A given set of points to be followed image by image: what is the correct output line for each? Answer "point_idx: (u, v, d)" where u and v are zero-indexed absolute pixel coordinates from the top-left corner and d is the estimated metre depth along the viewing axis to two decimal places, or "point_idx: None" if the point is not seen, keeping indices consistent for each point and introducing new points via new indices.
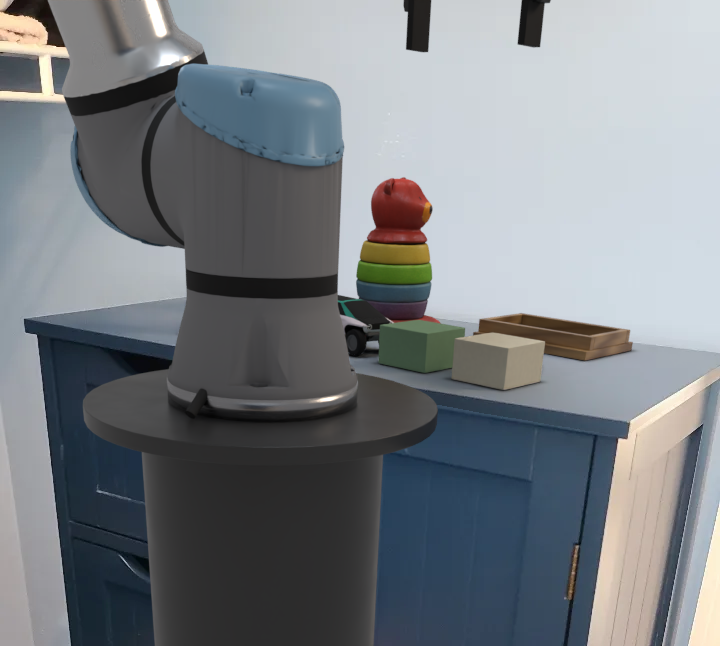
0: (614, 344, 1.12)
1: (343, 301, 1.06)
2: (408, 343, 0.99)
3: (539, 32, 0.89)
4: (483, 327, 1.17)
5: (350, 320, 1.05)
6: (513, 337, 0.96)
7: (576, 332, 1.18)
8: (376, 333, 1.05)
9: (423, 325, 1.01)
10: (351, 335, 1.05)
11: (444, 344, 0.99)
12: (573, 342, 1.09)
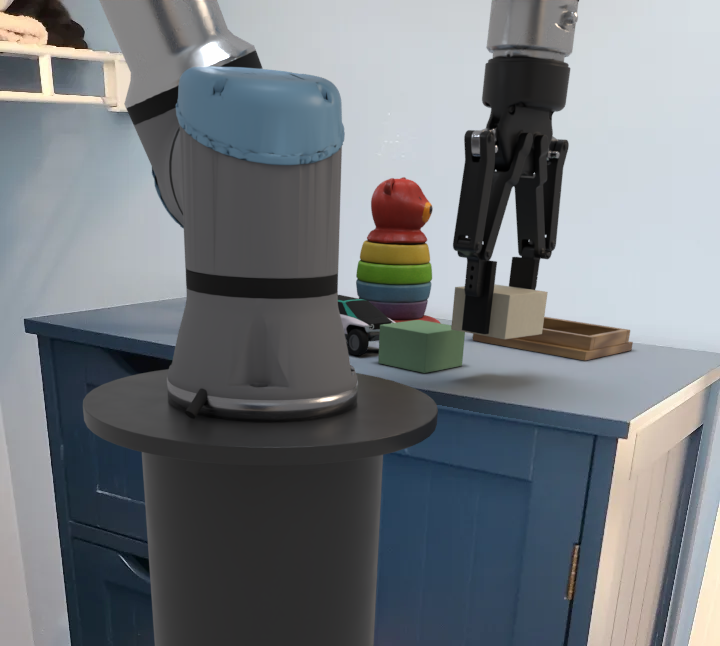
0: (614, 344, 1.12)
1: (345, 301, 1.06)
2: (408, 343, 0.99)
3: (482, 321, 0.90)
4: None
5: (352, 320, 1.05)
6: (515, 288, 0.94)
7: (576, 332, 1.18)
8: (378, 333, 1.05)
9: (423, 325, 1.01)
10: (353, 335, 1.05)
11: (444, 344, 0.99)
12: (573, 342, 1.09)
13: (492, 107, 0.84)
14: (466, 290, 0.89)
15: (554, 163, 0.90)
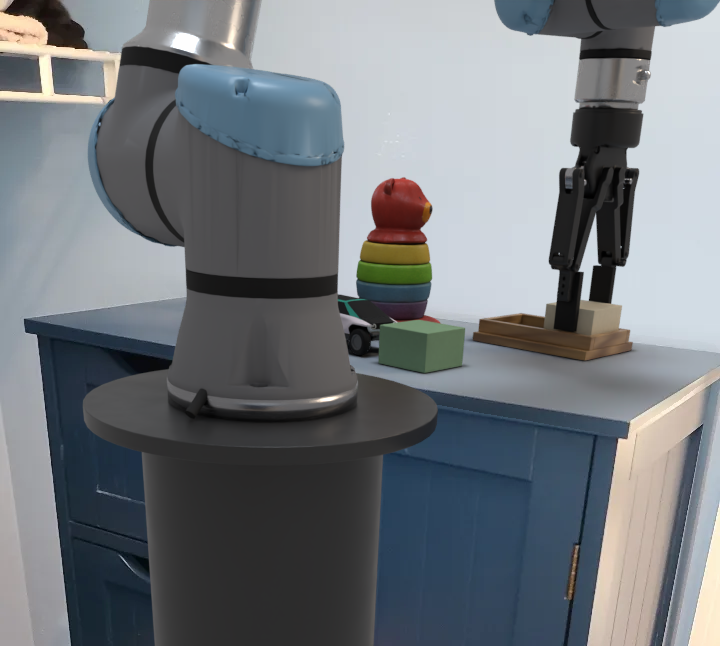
0: (614, 344, 1.12)
1: (347, 301, 1.07)
2: (408, 343, 0.99)
3: (572, 321, 1.10)
4: (483, 327, 1.17)
5: (354, 320, 1.05)
6: (594, 302, 1.14)
7: None
8: None
9: (423, 325, 1.01)
10: (355, 335, 1.05)
11: (444, 344, 0.99)
12: (573, 342, 1.09)
13: (580, 148, 1.03)
14: (558, 296, 1.09)
15: (628, 188, 1.10)
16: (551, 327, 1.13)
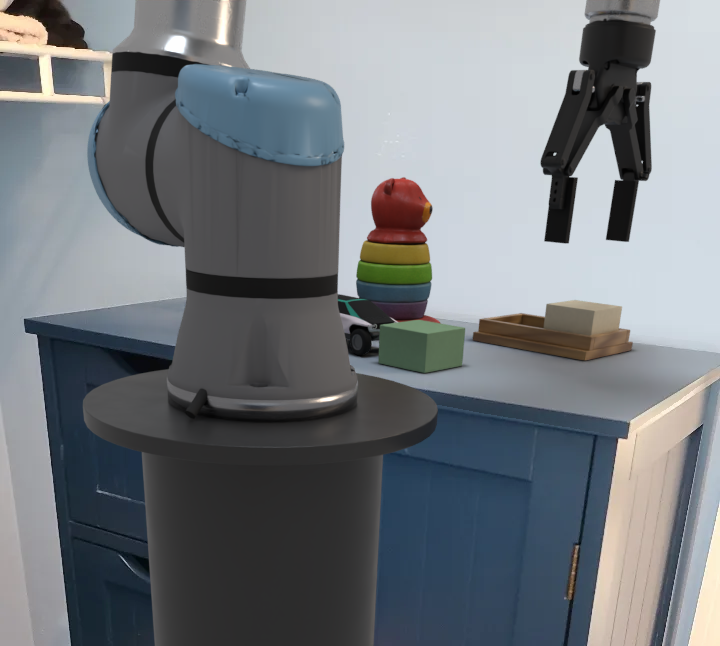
0: (614, 344, 1.12)
1: (347, 301, 1.07)
2: (408, 343, 0.99)
3: (564, 231, 1.03)
4: (483, 327, 1.17)
5: (355, 320, 1.05)
6: (594, 303, 1.14)
7: None
8: None
9: (423, 325, 1.01)
10: (356, 335, 1.05)
11: (444, 344, 0.99)
12: (573, 342, 1.09)
13: (590, 64, 0.99)
14: (550, 204, 1.02)
15: (641, 105, 1.06)
16: (551, 327, 1.13)
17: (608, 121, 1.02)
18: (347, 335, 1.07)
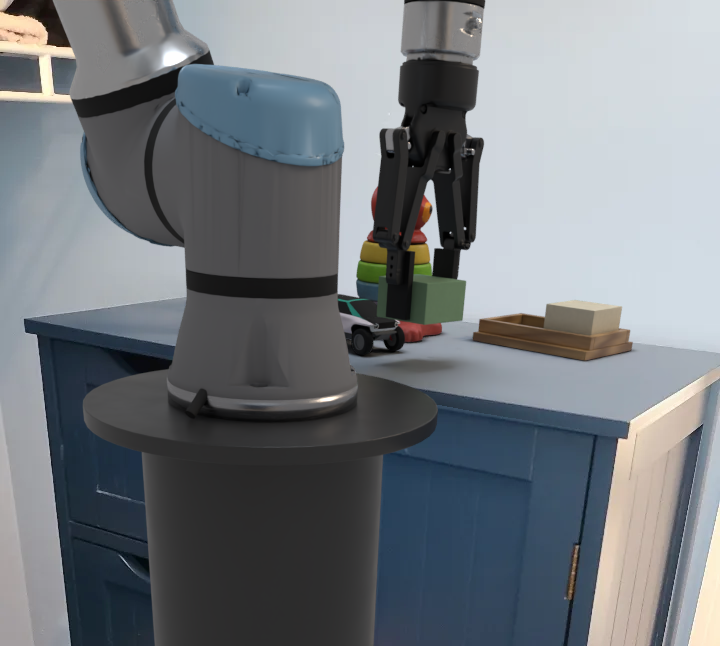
0: (614, 344, 1.12)
1: (349, 301, 1.07)
2: None
3: (403, 308, 0.96)
4: (483, 327, 1.17)
5: (357, 319, 1.05)
6: (594, 303, 1.14)
7: None
8: (382, 332, 1.06)
9: (423, 277, 0.99)
10: (358, 334, 1.05)
11: (444, 296, 0.97)
12: (573, 342, 1.09)
13: (406, 107, 0.89)
14: (387, 279, 0.95)
15: (470, 159, 0.96)
16: (551, 327, 1.13)
17: None
18: (349, 335, 1.07)
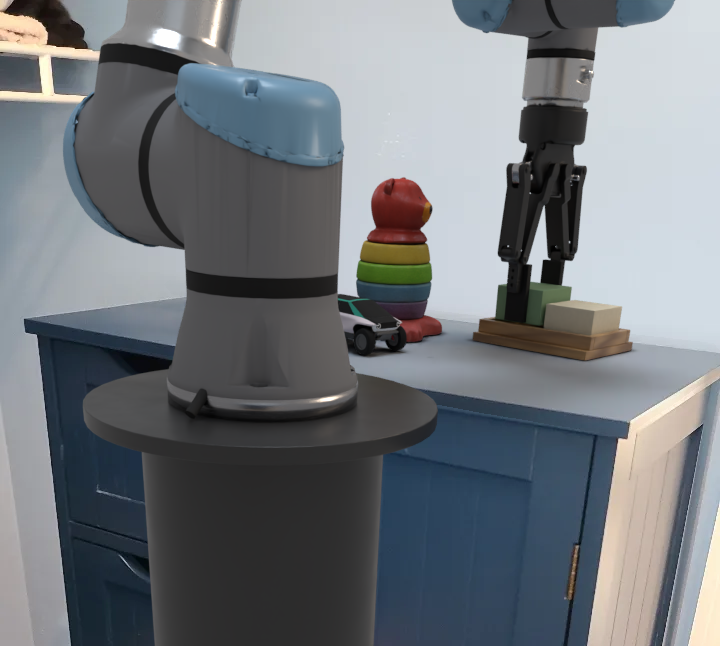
0: (614, 344, 1.12)
1: (351, 300, 1.07)
2: None
3: (521, 312, 1.14)
4: (483, 327, 1.17)
5: (359, 319, 1.05)
6: (594, 303, 1.14)
7: None
8: (385, 332, 1.06)
9: (535, 285, 1.16)
10: (360, 334, 1.05)
11: (555, 301, 1.14)
12: (573, 342, 1.09)
13: (527, 144, 1.07)
14: (508, 288, 1.13)
15: (575, 184, 1.13)
16: (551, 327, 1.13)
17: None
18: (351, 335, 1.07)
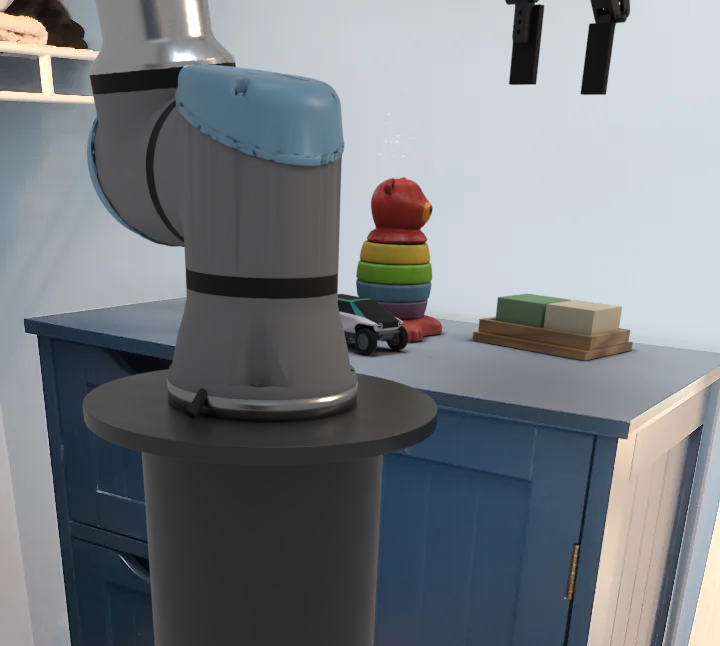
0: (614, 344, 1.12)
1: (352, 300, 1.07)
2: (524, 312, 1.14)
3: (530, 70, 0.92)
4: (483, 327, 1.17)
5: (360, 319, 1.05)
6: (594, 303, 1.14)
7: None
8: (386, 332, 1.06)
9: (534, 297, 1.17)
10: (362, 334, 1.05)
11: None
12: (573, 342, 1.09)
13: None
14: (514, 37, 0.91)
15: None
16: (551, 327, 1.13)
17: None
18: (352, 334, 1.07)
